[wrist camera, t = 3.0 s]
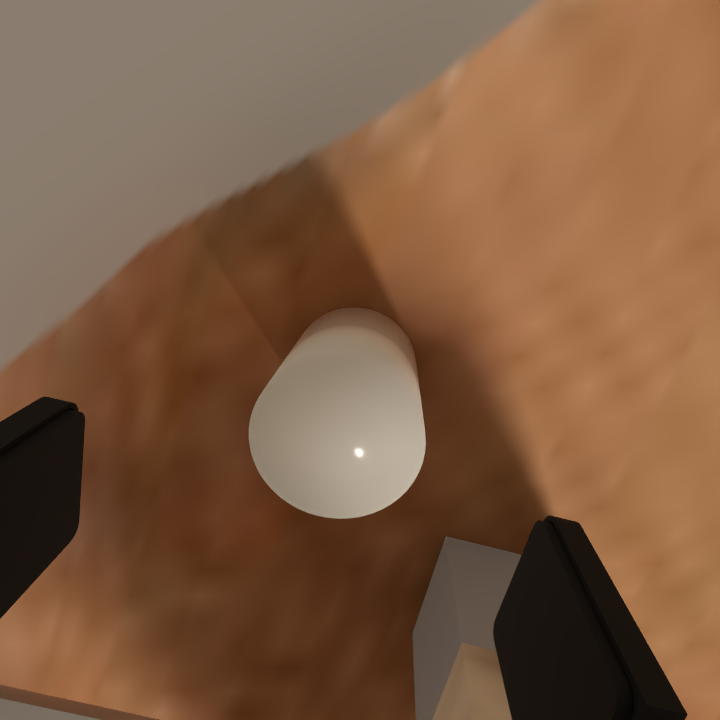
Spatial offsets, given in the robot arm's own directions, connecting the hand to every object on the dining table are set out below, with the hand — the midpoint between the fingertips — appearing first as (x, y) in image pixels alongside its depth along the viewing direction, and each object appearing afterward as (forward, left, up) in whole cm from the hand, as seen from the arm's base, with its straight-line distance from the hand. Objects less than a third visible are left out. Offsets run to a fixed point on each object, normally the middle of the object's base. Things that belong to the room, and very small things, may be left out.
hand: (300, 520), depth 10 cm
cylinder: (0, 0, -12) cm, 12 cm away
